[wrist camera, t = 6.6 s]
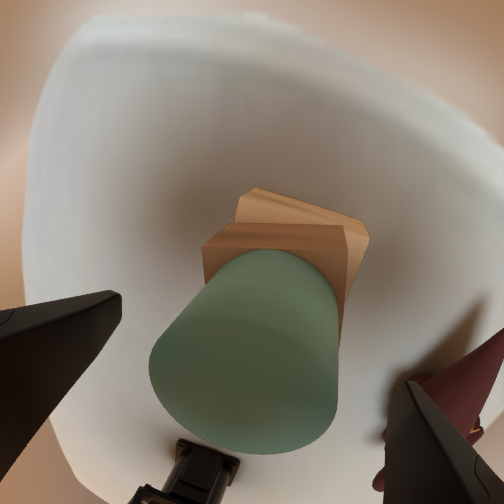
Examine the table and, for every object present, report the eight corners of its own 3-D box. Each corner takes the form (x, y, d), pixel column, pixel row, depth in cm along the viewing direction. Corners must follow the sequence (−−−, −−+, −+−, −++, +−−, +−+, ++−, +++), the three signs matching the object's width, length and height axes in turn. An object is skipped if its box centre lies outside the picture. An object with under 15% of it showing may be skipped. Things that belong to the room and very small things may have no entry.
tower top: (336, 325, 15) (335, 371, 11) (237, 319, 16) (214, 360, 12) (342, 225, 13) (348, 251, 10) (230, 222, 14) (201, 246, 11)
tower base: (326, 312, 18) (324, 346, 15) (232, 282, 19) (213, 309, 16) (361, 220, 16) (370, 238, 13) (256, 187, 17) (239, 197, 14)
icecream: (468, 340, 10) (328, 485, 17) (563, 388, 8) (408, 512, 14) (454, 276, 16) (355, 421, 23) (534, 320, 13) (422, 448, 20)
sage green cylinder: (312, 377, 12) (298, 469, 7) (199, 341, 12) (148, 417, 8) (357, 273, 10) (372, 355, 6) (220, 231, 11) (153, 285, 6)
